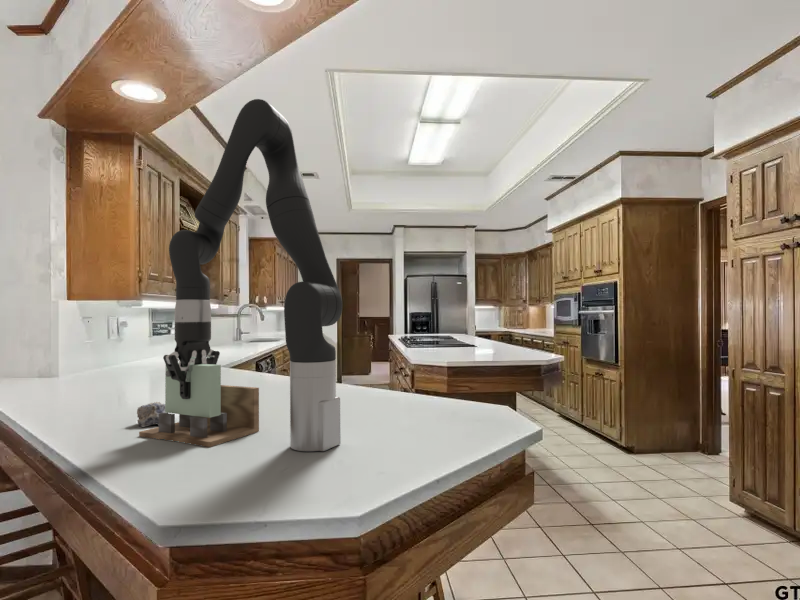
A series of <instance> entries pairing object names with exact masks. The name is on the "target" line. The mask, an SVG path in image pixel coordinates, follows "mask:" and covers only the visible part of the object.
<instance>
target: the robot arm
mask: <svg viewBox="0 0 800 600" xmlns="http://www.w3.org/2000/svg"><path fill="white" fill-rule="evenodd" d="M255 148H257V149H258V150H259V152H261V154H262V157H263V159H264V161H265V166H266V168H267V171H268V185H267V190H266V195H265V205H266V211H267V216H268V218H269V221H270V226H271V229H272V232H273V234H274V236H275V237H276V239H277V240H278V242H279V244H280V245H281V246H282V248H283V249H284V250H285V251H286V253H287V255H288V256H290V258H291V259H292V261H293V262H294V263H295V265H296V267H297V269H298V272H299V274H300V277H301V280H302V281H297V282H295V283H293V284H292V285H291V286H290V287H289V289H288V290H287V292H286V293H285V298H284V305H283V314H284V332H285V333H284V335H285V344H286V348H287V350H288V353H289V415H290V416H289V428H290V433H289V434H290V435H289V438H290V443H289V445H290V448H291V449H292V450H294V451H298V452H326V451H327V450H330V449H331V448H335V447H337V446H339V445H340V444H342V443H341V442H342V441H341V439H342V437H341V435H342V434H341V398H340V397H339V396H337V378H336V377H337V374H336V373H337V372H336V371H337V369H336V368H337V364H336V362H337V360H336V359H337V351H336V347H335V346H334V345H333V344H332V343H330V342H328V341H327V340H326V338H325V337H324V333H323V327H329V326H333V325H335V324H336V323H337V322H338V321H339V320H340V318H341V316H342V313H343V297H342V294H341V291H340V289H339V286H338V283H337V281H336V279H335V277H334V274H333V272H332V269H331V267H330V264H329V262H328V260H327V257H326V253H325V251H324V247H323V246H324V245H323V244H322V240H321V237H320V234H319V231H318V228H317V224H316V220H315V216H314V212H313V208H312V205H311V202H310V199H309V196H308V193H307V191H306V190H307V189H306V186H305V183H304V180H303V177H302V174H301V171H300V167H299V163H298V159H297V153H296V149H295V143H294V136H293V132H292V128H291V124H290V122H288V120H287V119H286V117H285V116H284V115H283V114H281V113H280V112H279V111H278V110H277V109H276V108H275V107H274V106H273V105H271V103H269V101H266V100H264V99H261V98H255V99H251V100H249V101H247V102H246V103H245V104H244V105H243V106H242V108H241V109H240V110H239V112H238V114H237V117H236V119H235V122H234V124H233V127H232V130H231V133H230V135H229V137H228V140H227V143H226V144H225V148H224V150H223V152H222V153H223V154H222V156H221V159H220V162H219V165H218V168H217V170H216V171H215V175H214V176H213V179H212V180H211V182H210V184H209V186H208V188H207V189H206V191H205V193H204V194H203V197H202V198H201V200H200V201H199V203H198V205H197V206H196V208H195V212H194V217H195V220H197V222H199V223H198V226H197V230H196V231H193V230H189V229H181V230H178V231H177V232H176V231H175V233H174V234H173V235H172V237H171V238H170V240H169V241H170V242H169V245H168V254H169V260H170V265H171V268H172V271H173V276H174V280H175V282H176V283H175V284H176V285H175V288H176V289H175V305H174V306H175V307H174V341H175V344H176V345H175V348H174V351H173V352H171V353H170V354H164V355H163V361H164V364H165V367H166V366H167V369H168V371H169V374H170V376H171V379H173V380H177V381H179V382H180V396H181V398H182V399H190V397H191V382H189V381H190V379H191V371H192V370H193V365H196V364H215V365H218V360H219V358H220V353H221V352H220V351H218V350H214V349H212V348H211V346H210V341H211V339H212V307H211V282H210V277H208V276H207V275H206V274H204V273H203V271H202V268H201V265H206V264H207V263H210V262H211V261H212V260H213V259H214V258H215V257H216V255H217V254H218V251H219V250H220V246H221V244H222V243H221V242H222V238H223V235H224V233H225V227H226V225H228V222H229V221H230V219H231V217H232V216H233V214H234V212H235V210H236V208H237V206H238V205H239V203H240V200H241V197H242V192H243V185H244V177H245V172H246V166H247V163H248V161H249V157H250V156H251V154H252V152H253V151H254V149H255ZM183 365H184V366H188V367H184V366H183Z"/></svg>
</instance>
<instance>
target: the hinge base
mask: <svg viewBox="0 0 800 600" xmlns="http://www.w3.org/2000/svg"><path fill="white" fill-rule="evenodd" d="M178 415H179V416H178V419H179V421H178V422H176V420H175V419H176V418H175V416H176V415H175V414H174V413H159V425H158V426H157V427H154V428H149V429H145V430H141V431H138V437H141V438H142V437H143V438H147V439H154V438H156V439H155V440H160V439H165V440H164V441H167V440H173V441H172V442H174V441H179V442H178V443H180V442H185V443H184V444H187V443H191V444H190V445H194V444H196V445H195V446H200V445H202V447H207V448H212V447H215V446H218V445H221V444H224V443H228V442H229V441H233V440H237V439H240V438H243V437H246V436H249V435H252V434H256V433H258V432H260V387H256V386H253V387H251V386H241V385H226V384H221V415H219V416H215V417H211V418H208V417H199V416H191V415H182V414H178Z"/></svg>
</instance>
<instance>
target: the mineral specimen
mask: <svg viewBox="0 0 800 600" xmlns="http://www.w3.org/2000/svg"><path fill="white" fill-rule="evenodd" d="M159 413H166V412H165V403H162V402H160V401H156V402H155V401H154V402H150V403H147V404H144V405H143V404H142V405H141V406H139V407H137V410H136V414H137V418H138V419H137V424H138V426H140V427H142V428H145V427H149V426H153V425H158V426H159Z"/></svg>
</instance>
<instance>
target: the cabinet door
mask: <svg viewBox="0 0 800 600" xmlns="http://www.w3.org/2000/svg"><path fill="white" fill-rule="evenodd" d="M183 366H184V365H183ZM184 367H188V366H184ZM221 368H222V365H221V364H216V365H215V364H196V365H193V370H192V371H191V379H190V381H189V382H191V397H190V399H182V398H181V396H180V382H179V381H177V380H173V379H171V376H170V374H169V371H168V369H167V366H166V365H165V384H164V385H165V388H164V389H165V390H164V391H165V395H164V396H165V397H164V398H165V400H164V404H165V412H166V413H169V414H176V415H179V414H182V415H191V416H199V417H208V418H211V417H215V416H219V415H221V385H222V382H221V381H222V377H221V376H222V373H221V371H222V370H221Z"/></svg>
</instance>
